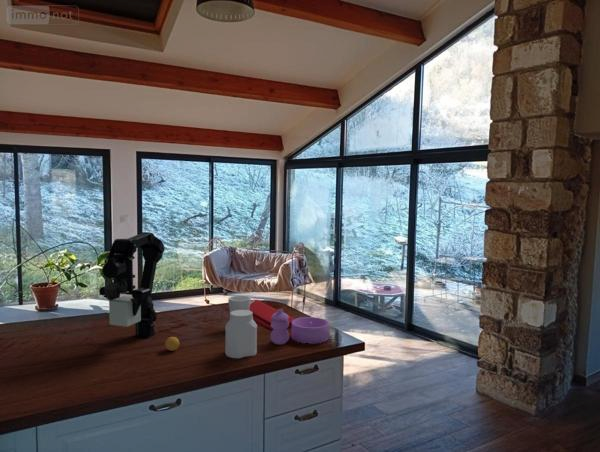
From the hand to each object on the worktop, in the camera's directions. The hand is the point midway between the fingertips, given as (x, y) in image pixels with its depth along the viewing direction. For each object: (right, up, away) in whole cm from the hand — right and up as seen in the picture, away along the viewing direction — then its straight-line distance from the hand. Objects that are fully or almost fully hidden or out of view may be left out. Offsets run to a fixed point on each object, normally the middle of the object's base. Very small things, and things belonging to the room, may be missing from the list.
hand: (125, 314), depth 168 cm
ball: (+17, -11, 0) cm, 20 cm away
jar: (+43, -14, -1) cm, 45 cm away
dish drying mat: (+48, -11, +46) cm, 67 cm away
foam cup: (+39, -11, +28) cm, 49 cm away
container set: (+65, -13, +15) cm, 67 cm away
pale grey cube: (0, -3, 0) cm, 3 cm away
